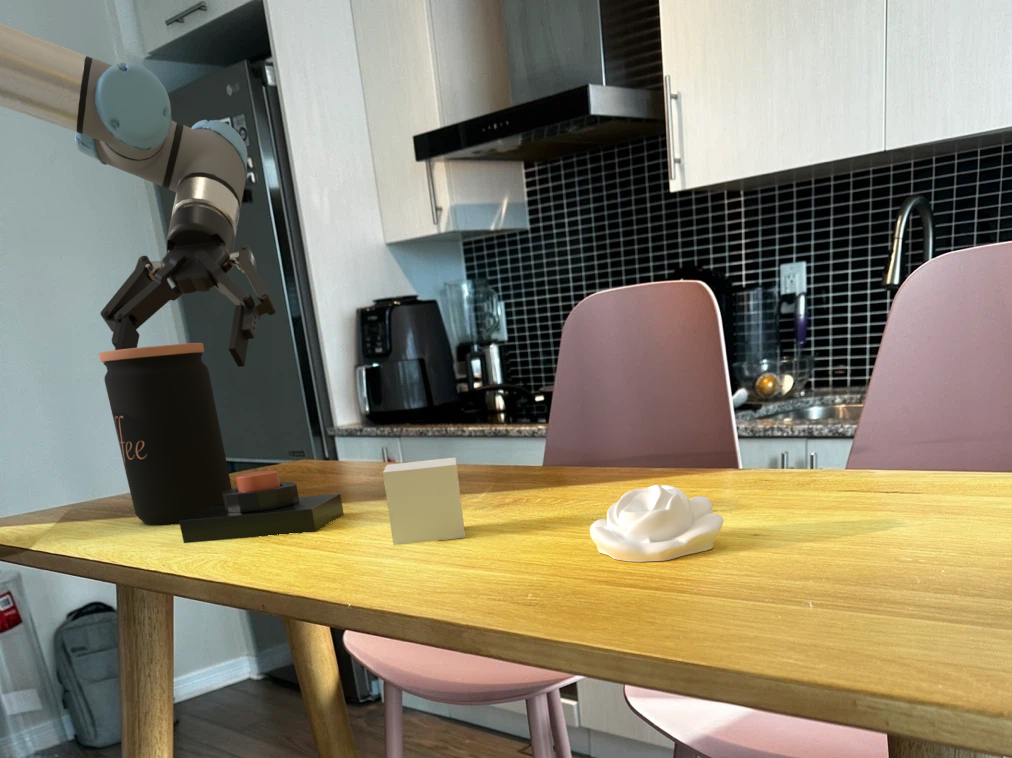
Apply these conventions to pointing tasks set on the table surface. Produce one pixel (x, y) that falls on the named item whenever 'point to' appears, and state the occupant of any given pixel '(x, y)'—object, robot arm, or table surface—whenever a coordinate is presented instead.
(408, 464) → the beige cube
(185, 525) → the control block
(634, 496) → the rose
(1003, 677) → the table surface
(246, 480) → the button
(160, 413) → the coffee jar
